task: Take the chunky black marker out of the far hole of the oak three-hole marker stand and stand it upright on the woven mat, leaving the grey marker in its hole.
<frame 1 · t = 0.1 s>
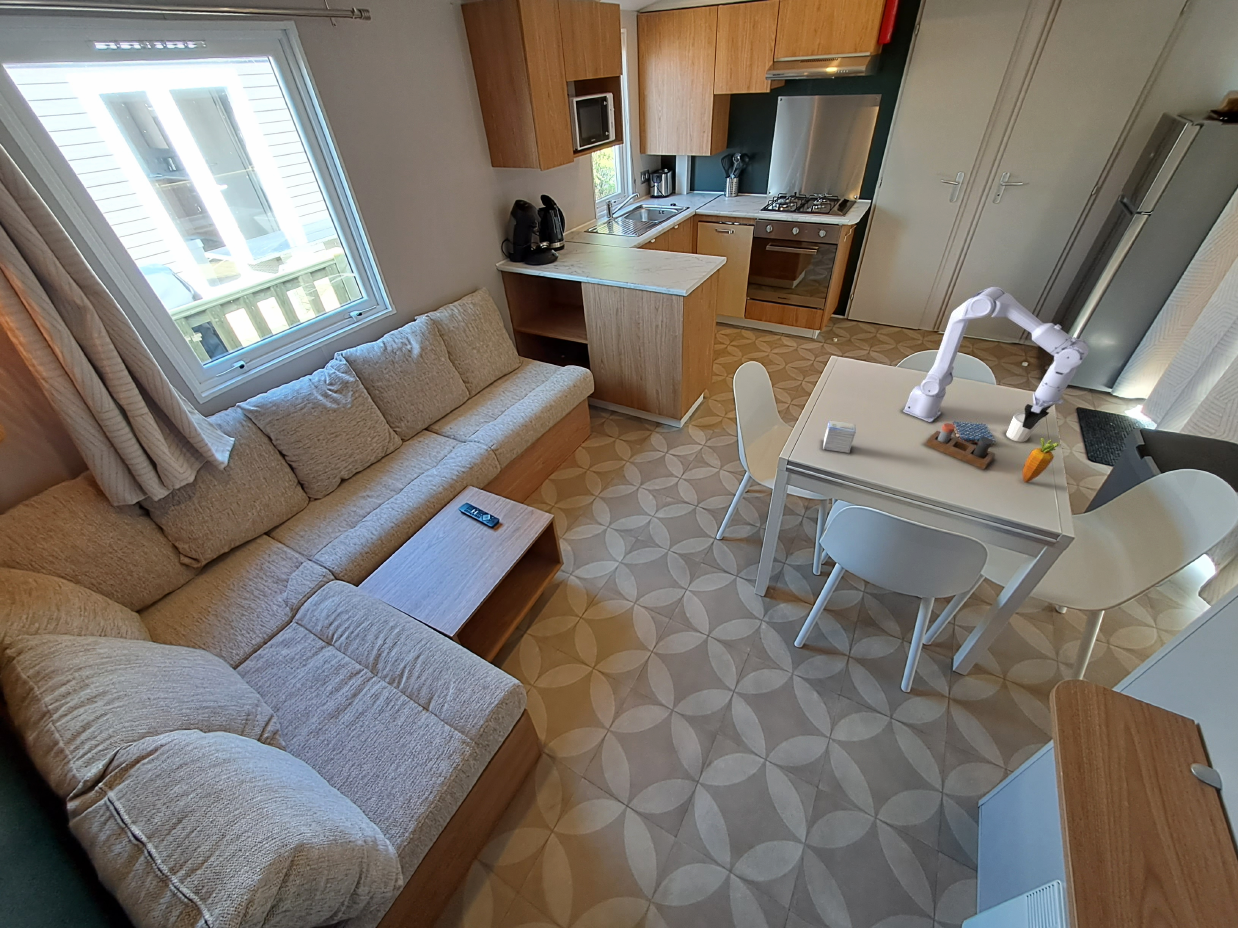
hand: (1030, 422, 147), 10 cm above the table, tool pointing down, fingers open, 7 cm apart
medicine box: (835, 448, 158), on the table
woven mat: (971, 435, 160), on the table
black marker: (976, 459, 150), resting in marker stand
carrot: (1024, 482, 142), on the table
grey marker: (940, 445, 157), resting in marker stand
white cylinder: (1016, 437, 158), on the table
marker stand: (957, 452, 154), on the table
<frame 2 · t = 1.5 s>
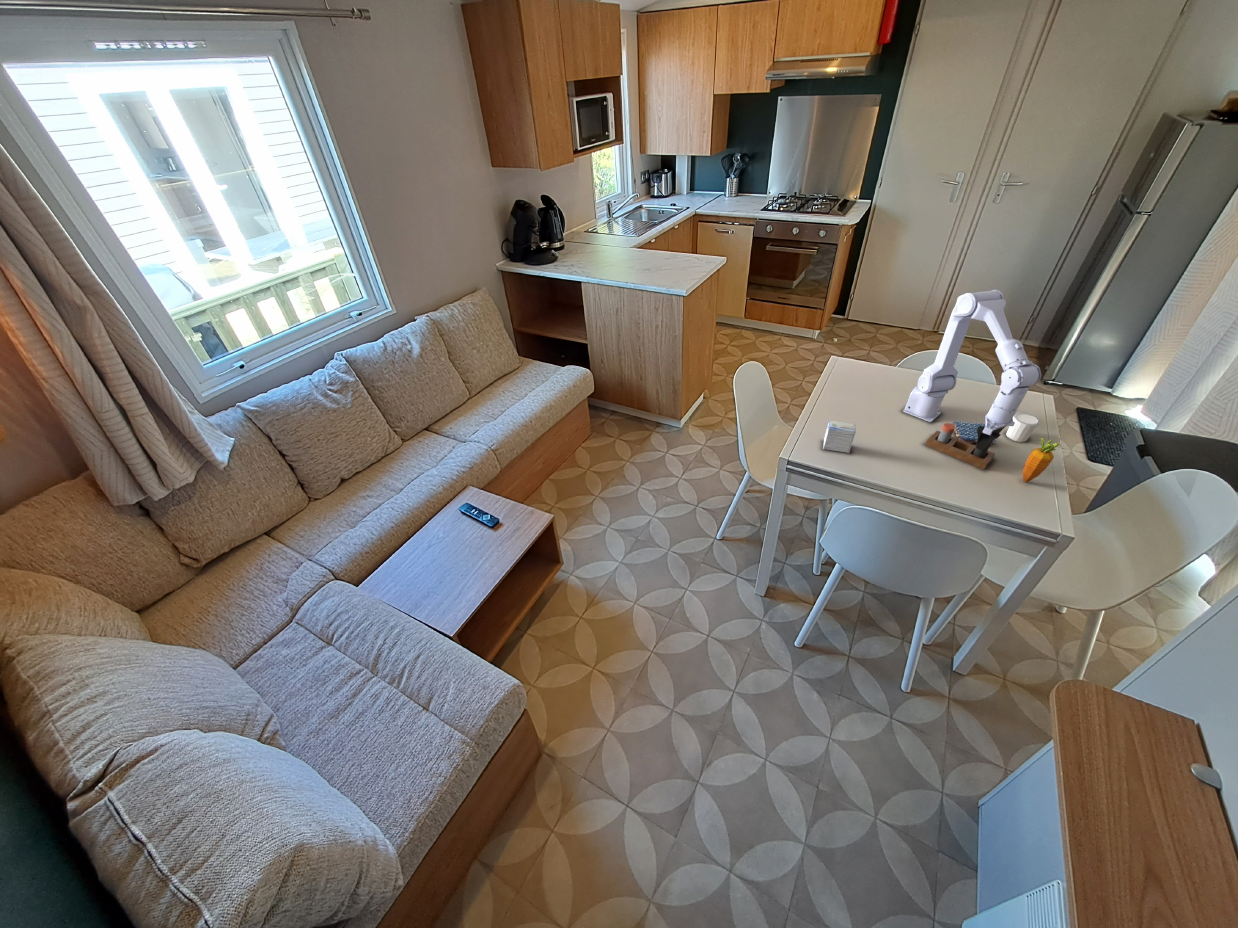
hand: (985, 443, 146), 6 cm above the table, tool pointing down, fingers open, 7 cm apart
nothing on the table moved.
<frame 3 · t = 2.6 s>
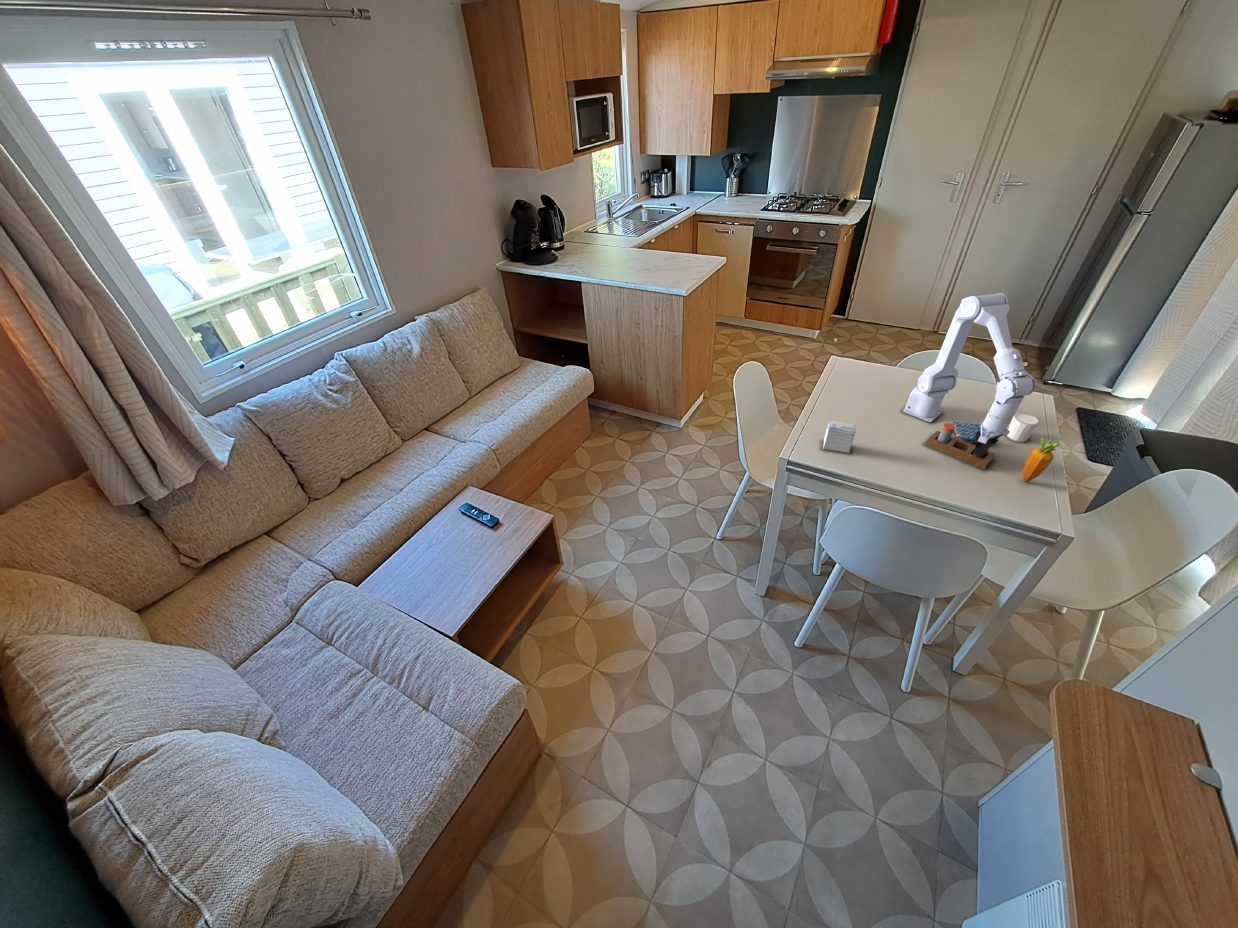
hand: (980, 451, 148), 3 cm above the table, tool pointing down, fingers closed on black marker, 3 cm apart
black marker: (976, 459, 150), resting in marker stand, touching gripper
everything else where it was.
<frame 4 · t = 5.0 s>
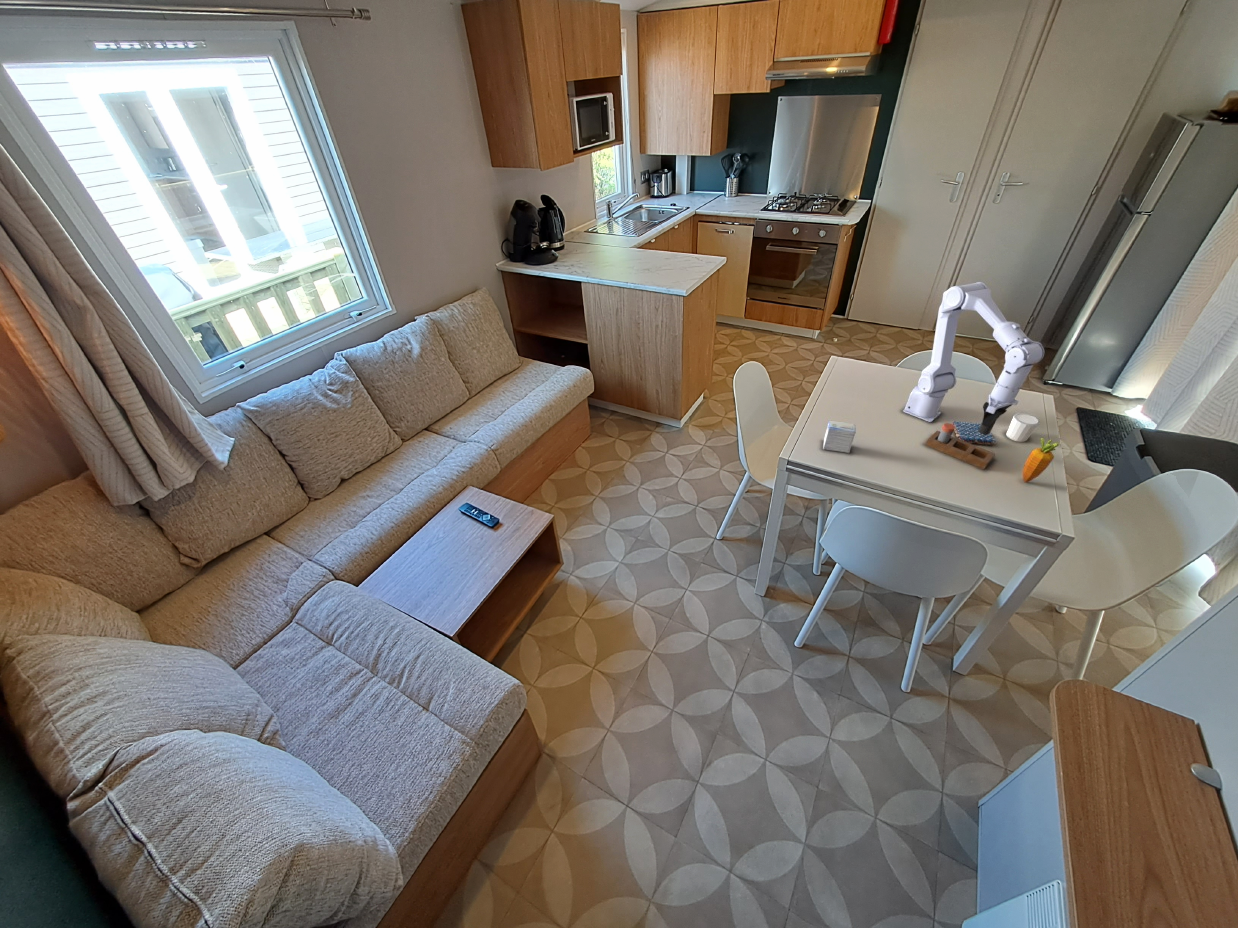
hand: (988, 423, 147), 10 cm above the table, tool pointing down, fingers closed on black marker, 3 cm apart
black marker: (983, 432, 149), point 7 cm above the table, touching gripper
everything else where it was.
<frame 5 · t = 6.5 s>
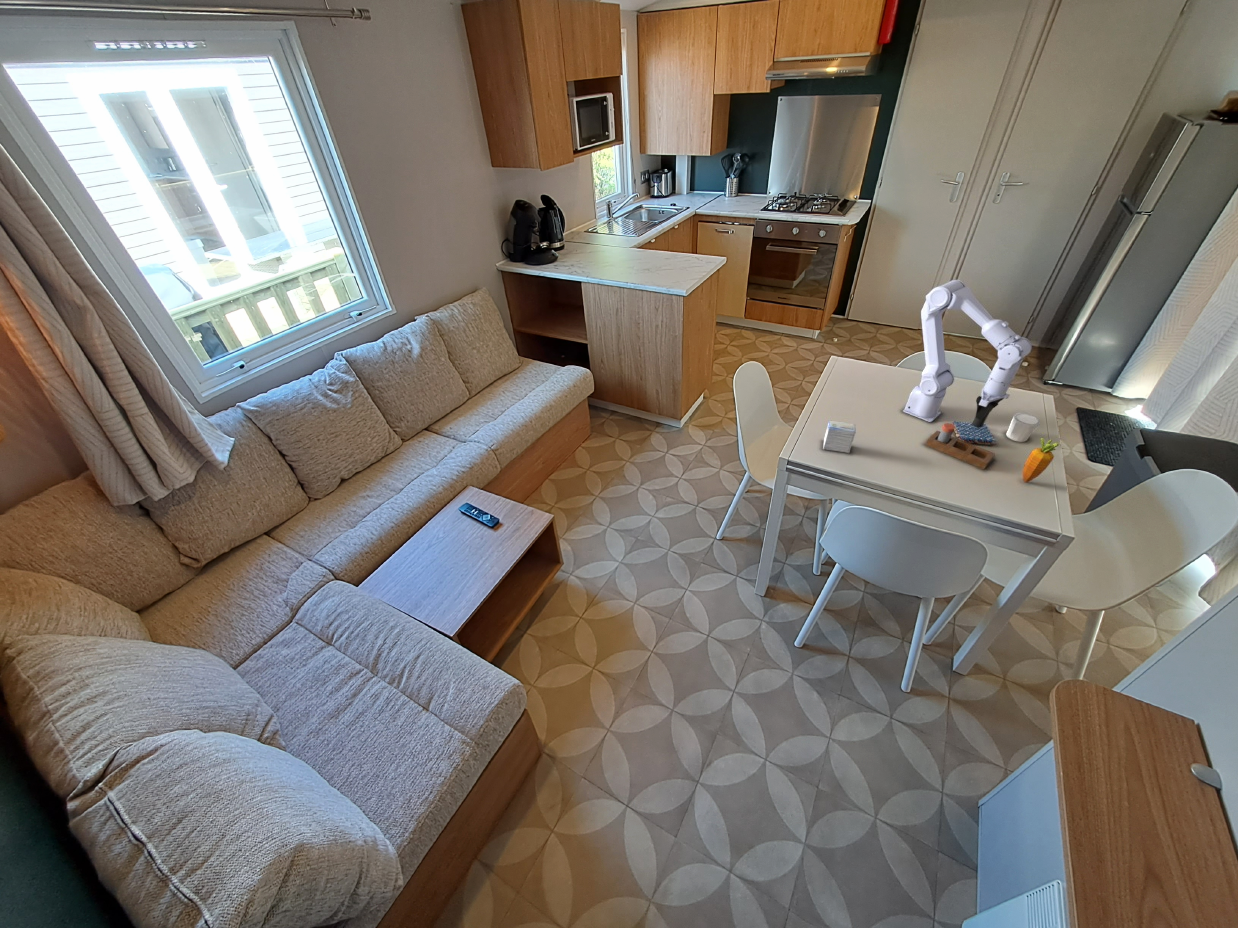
hand: (981, 416, 155), 8 cm above the table, tool pointing down, fingers closed on black marker, 3 cm apart
black marker: (977, 424, 157), point 4 cm above the table, touching gripper
everything else where it was.
when the fingers open (5 cm above the table, at t = 7.5 s): black marker stays where it is, resting on woven mat.
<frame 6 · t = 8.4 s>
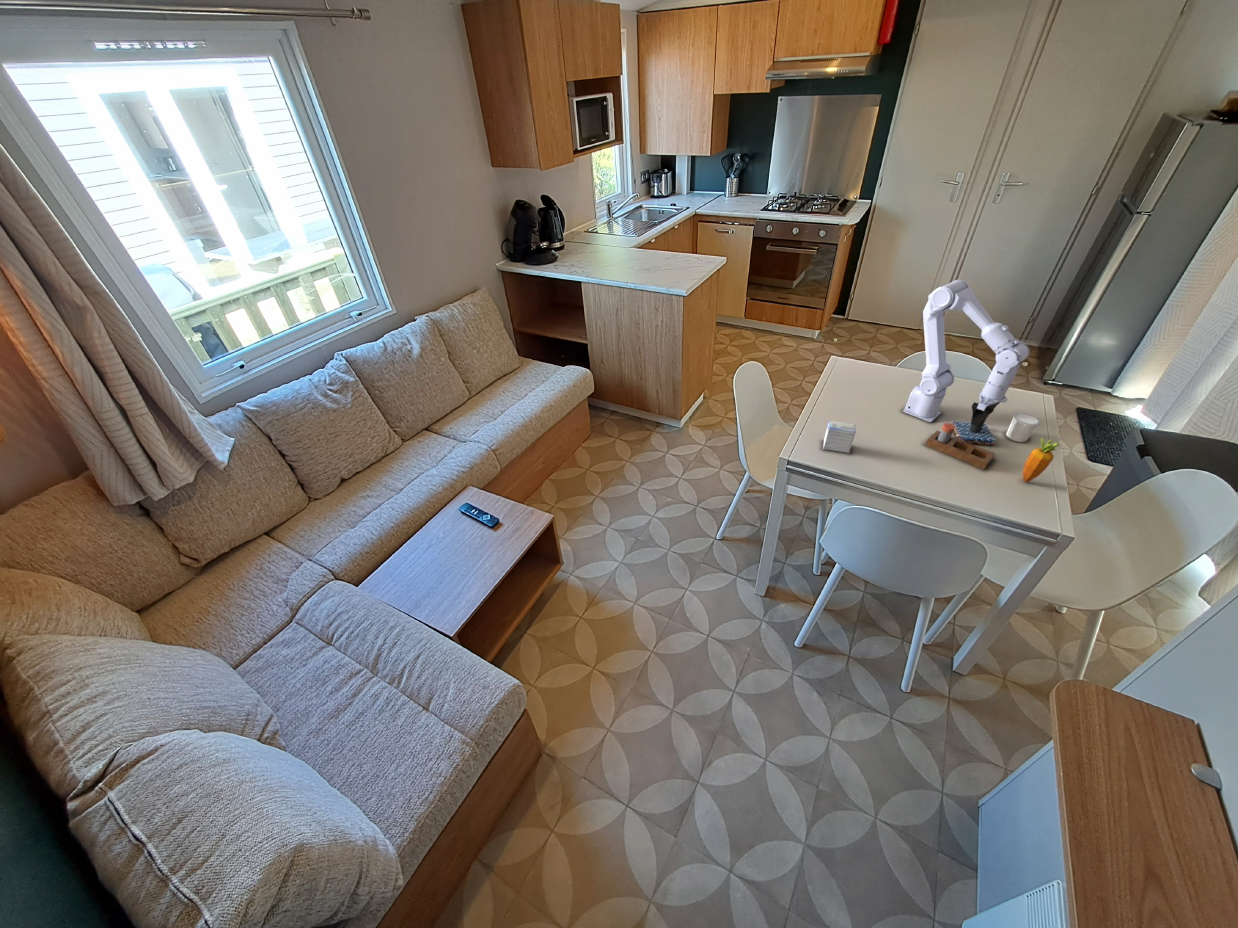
hand: (979, 419, 156), 6 cm above the table, tool pointing down, fingers open, 7 cm apart
woven mat: (971, 435, 160), on the table, touching black marker
black marker: (974, 430, 158), point 2 cm above the table, touching woven mat
everything else where it was.
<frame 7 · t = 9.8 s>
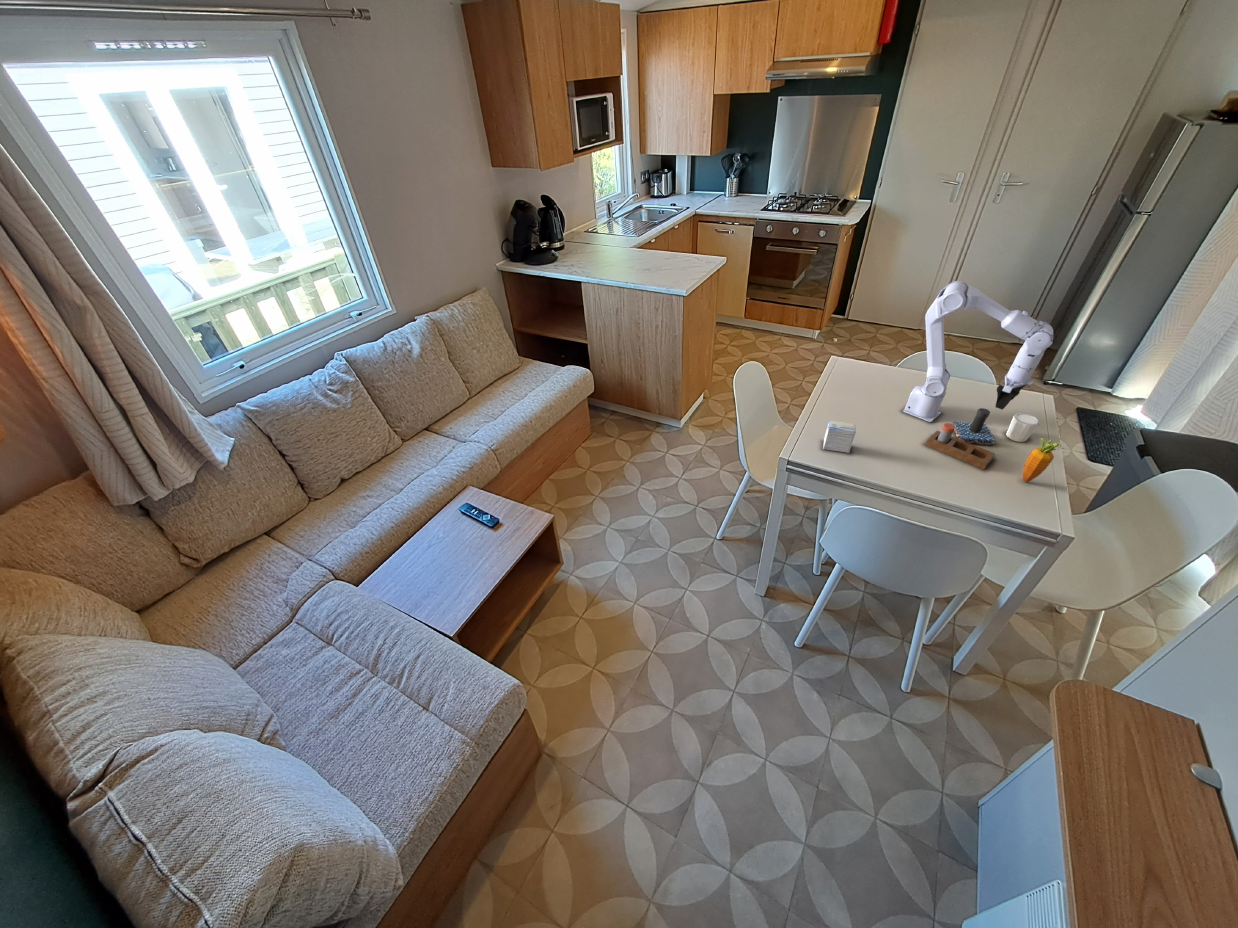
hand: (1004, 403, 155), 10 cm above the table, tool pointing down, fingers open, 7 cm apart
nothing on the table moved.
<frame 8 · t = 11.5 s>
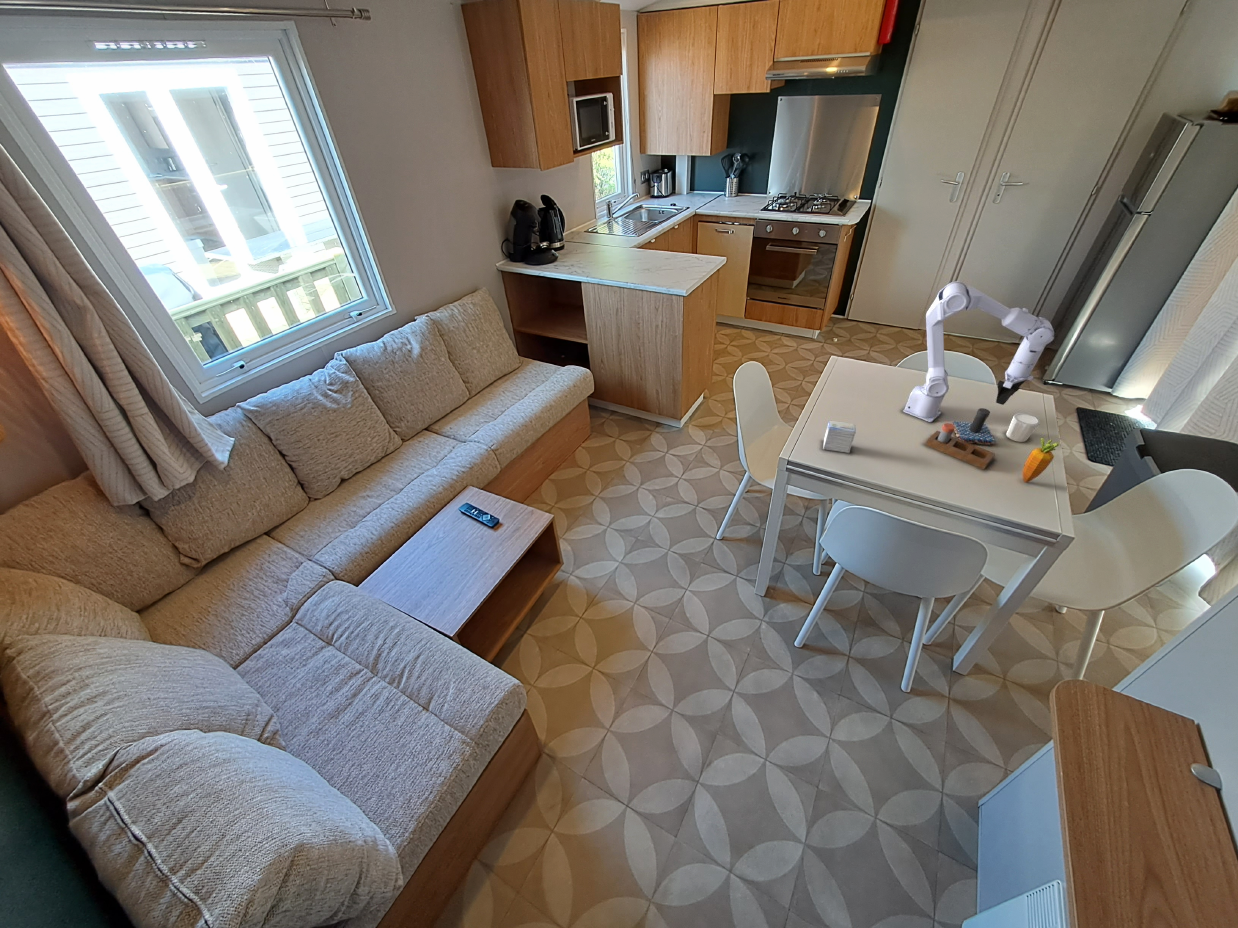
hand: (1004, 398, 157), 10 cm above the table, tool pointing down, fingers open, 7 cm apart
nothing on the table moved.
at the end: black marker inside the target area on the woven mat (0.0 cm from its centre), point 2.2 cm above the woven mat's base; black marker tilted 0°; the gripper is holding nothing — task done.
